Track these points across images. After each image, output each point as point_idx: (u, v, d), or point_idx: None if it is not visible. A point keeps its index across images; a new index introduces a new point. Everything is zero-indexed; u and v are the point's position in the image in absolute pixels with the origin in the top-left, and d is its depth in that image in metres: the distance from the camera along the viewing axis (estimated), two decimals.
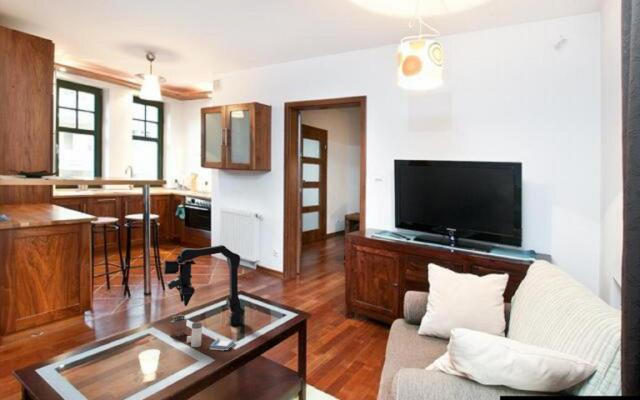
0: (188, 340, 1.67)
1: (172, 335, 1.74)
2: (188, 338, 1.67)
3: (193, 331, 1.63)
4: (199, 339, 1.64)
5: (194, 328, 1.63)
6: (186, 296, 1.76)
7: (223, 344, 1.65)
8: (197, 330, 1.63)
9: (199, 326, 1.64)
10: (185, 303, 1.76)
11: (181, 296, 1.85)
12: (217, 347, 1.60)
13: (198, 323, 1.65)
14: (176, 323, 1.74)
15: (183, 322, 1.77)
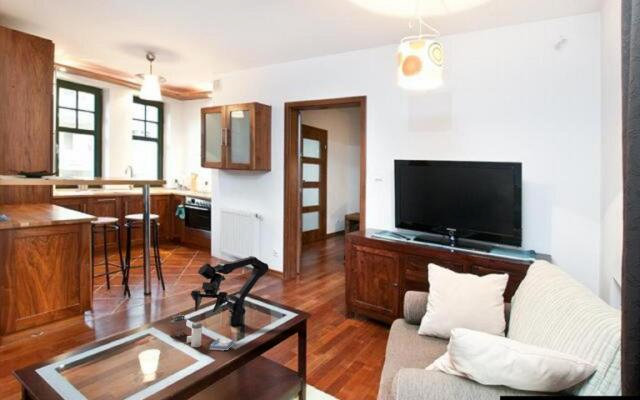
0: (188, 340, 1.67)
1: (172, 335, 1.74)
2: (188, 338, 1.67)
3: (193, 331, 1.63)
4: (199, 339, 1.64)
5: (194, 328, 1.63)
6: (218, 302, 1.76)
7: (223, 344, 1.65)
8: (197, 330, 1.63)
9: (199, 326, 1.64)
10: (215, 309, 1.73)
11: (197, 305, 1.75)
12: (217, 347, 1.60)
13: (198, 323, 1.65)
14: (176, 323, 1.74)
15: (183, 322, 1.77)
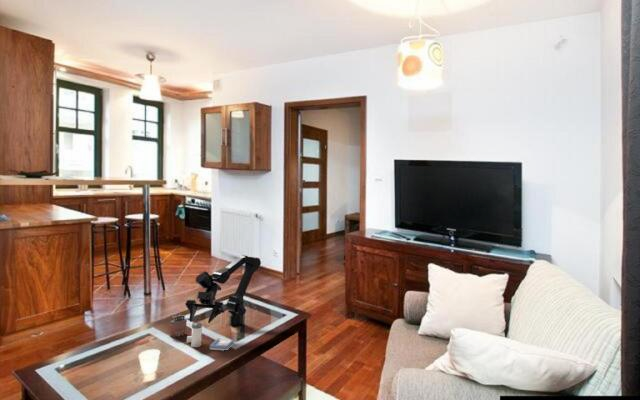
0: (188, 340, 1.67)
1: (172, 335, 1.74)
2: (188, 338, 1.67)
3: (193, 331, 1.63)
4: (199, 339, 1.64)
5: (194, 328, 1.63)
6: (214, 313, 1.71)
7: (223, 344, 1.65)
8: (197, 330, 1.63)
9: (199, 326, 1.64)
10: (210, 319, 1.68)
11: (192, 315, 1.70)
12: (217, 347, 1.60)
13: (198, 323, 1.65)
14: (176, 323, 1.74)
15: (183, 322, 1.77)
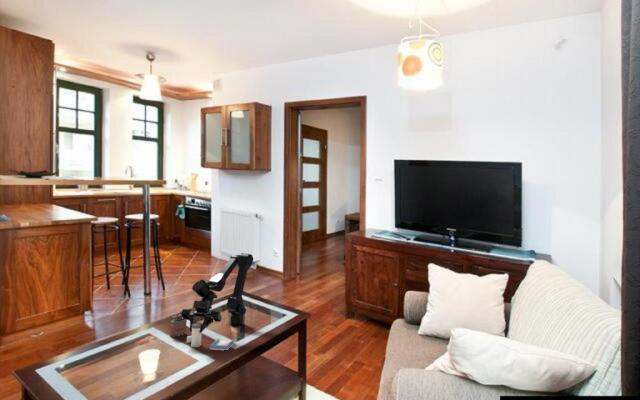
0: (188, 340, 1.67)
1: (172, 335, 1.74)
2: (188, 338, 1.67)
3: (193, 331, 1.63)
4: (199, 339, 1.64)
5: (194, 328, 1.63)
6: (206, 322, 1.67)
7: (223, 344, 1.65)
8: (197, 330, 1.63)
9: (199, 326, 1.63)
10: (202, 329, 1.64)
11: None
12: (217, 347, 1.60)
13: (198, 323, 1.65)
14: (176, 323, 1.74)
15: (183, 322, 1.77)
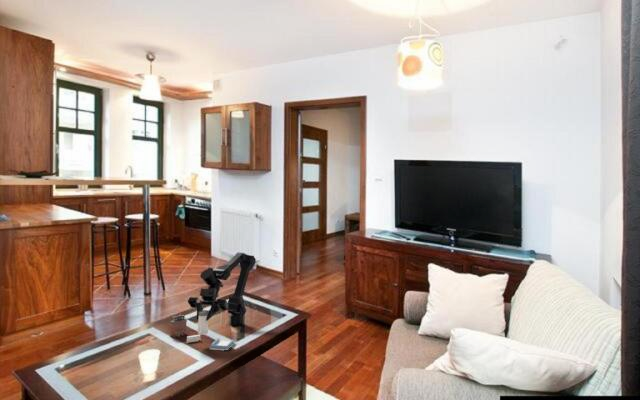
0: (188, 340, 1.67)
1: (172, 335, 1.74)
2: (188, 338, 1.67)
3: (200, 319, 1.63)
4: (206, 327, 1.64)
5: (201, 316, 1.63)
6: (212, 310, 1.67)
7: (223, 344, 1.65)
8: (204, 318, 1.63)
9: (206, 314, 1.64)
10: (209, 317, 1.64)
11: None
12: (217, 347, 1.60)
13: (205, 311, 1.65)
14: (176, 323, 1.74)
15: (183, 322, 1.77)
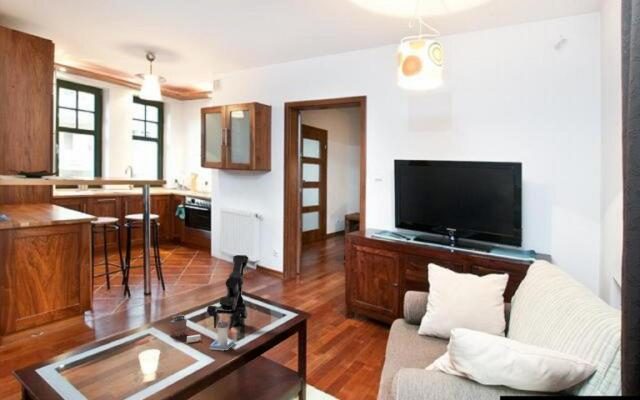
0: (188, 340, 1.67)
1: (172, 335, 1.74)
2: (188, 338, 1.67)
3: (219, 331, 1.63)
4: (225, 338, 1.64)
5: (220, 328, 1.63)
6: (234, 319, 1.66)
7: None
8: (223, 330, 1.63)
9: (225, 325, 1.63)
10: (231, 326, 1.64)
11: (216, 322, 1.65)
12: (217, 347, 1.60)
13: (224, 322, 1.65)
14: (176, 323, 1.74)
15: (183, 322, 1.77)
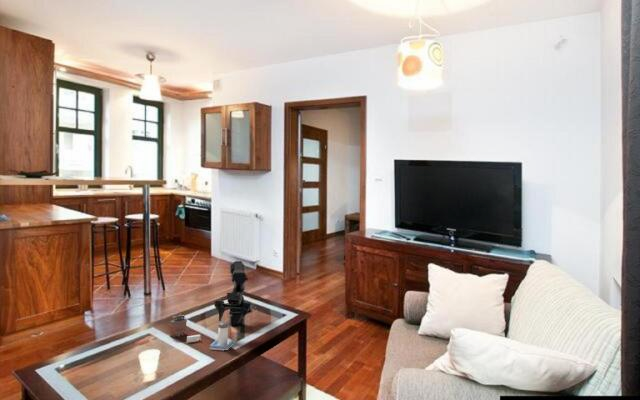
0: (188, 340, 1.67)
1: (172, 335, 1.74)
2: (188, 338, 1.67)
3: (220, 331, 1.63)
4: (226, 339, 1.64)
5: (221, 328, 1.63)
6: (242, 313, 1.75)
7: None
8: (224, 330, 1.63)
9: (226, 326, 1.63)
10: (239, 320, 1.73)
11: (221, 315, 1.75)
12: (217, 347, 1.60)
13: (225, 323, 1.65)
14: (176, 323, 1.74)
15: (183, 322, 1.77)
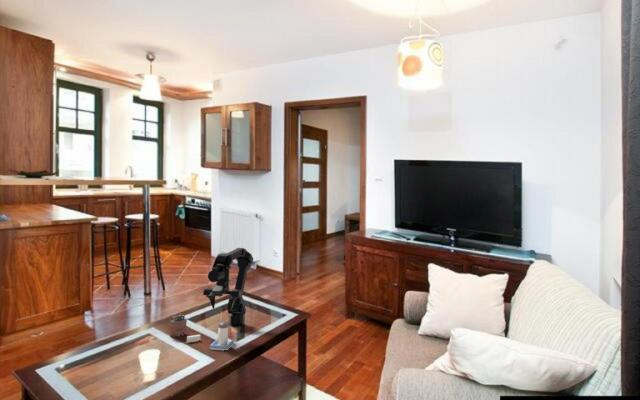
0: (188, 340, 1.67)
1: (172, 335, 1.74)
2: (188, 338, 1.67)
3: (220, 331, 1.63)
4: (226, 339, 1.64)
5: (221, 328, 1.63)
6: None
7: None
8: (224, 330, 1.63)
9: (226, 326, 1.63)
10: (231, 307, 1.78)
11: (213, 303, 1.79)
12: (217, 347, 1.60)
13: (225, 323, 1.65)
14: (176, 323, 1.74)
15: (183, 322, 1.77)
